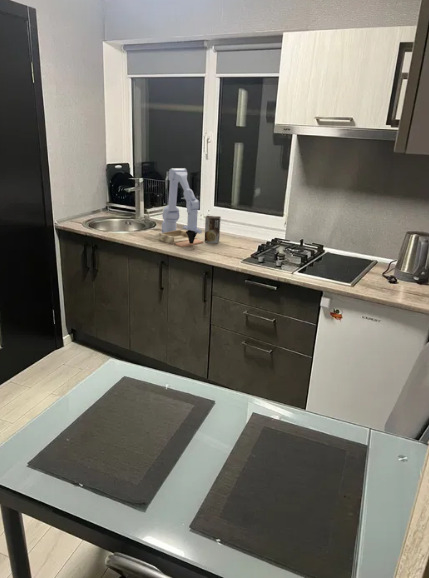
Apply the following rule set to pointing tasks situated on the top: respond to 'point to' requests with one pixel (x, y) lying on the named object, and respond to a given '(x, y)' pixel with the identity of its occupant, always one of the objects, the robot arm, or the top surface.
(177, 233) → the cart bed
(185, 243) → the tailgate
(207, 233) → the coffee box
